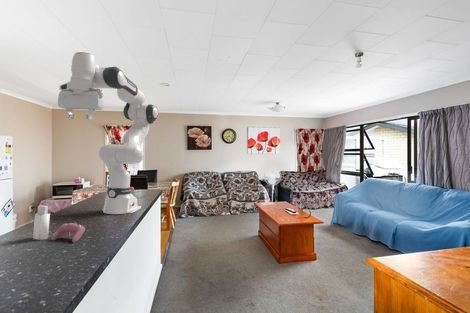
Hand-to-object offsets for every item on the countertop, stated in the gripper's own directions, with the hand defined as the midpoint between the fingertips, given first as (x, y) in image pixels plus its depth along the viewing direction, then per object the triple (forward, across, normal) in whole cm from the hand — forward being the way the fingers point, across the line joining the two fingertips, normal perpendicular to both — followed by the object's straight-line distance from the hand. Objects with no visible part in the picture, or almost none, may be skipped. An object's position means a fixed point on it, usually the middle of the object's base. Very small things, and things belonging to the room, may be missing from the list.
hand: (79, 118), depth 100 cm
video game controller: (+48, -12, +13) cm, 52 cm away
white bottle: (+48, -2, +15) cm, 50 cm away
